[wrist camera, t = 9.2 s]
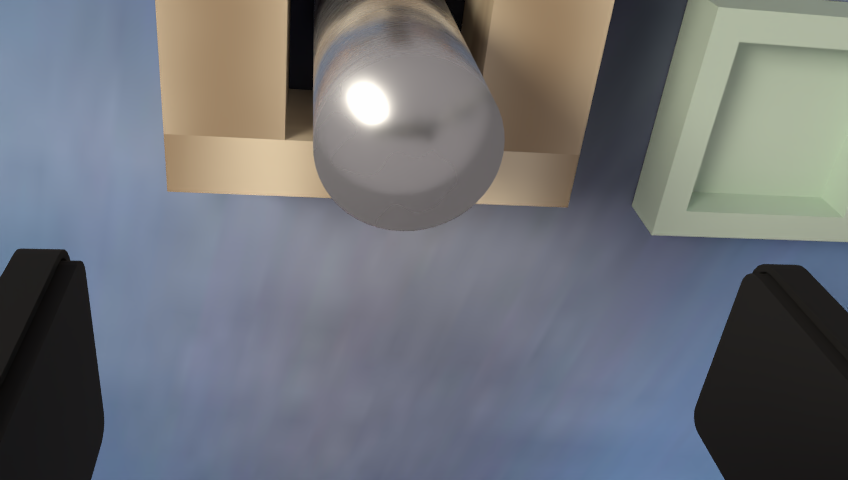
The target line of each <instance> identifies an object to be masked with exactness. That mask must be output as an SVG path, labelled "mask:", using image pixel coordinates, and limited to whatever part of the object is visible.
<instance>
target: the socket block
mask: <svg viewBox="0 0 848 480" xmlns="http://www.w3.org/2000/svg"><path fill="white" fill-rule="evenodd" d="M614 1H615V0H465V6H464V13H463V21H462V28H461V34H462V36H463V38H464V40H465V42H466V44H467V46H468V48H469V50H470V52H471V54H472V56H473V58H474V60H475V62H476V64H477V66H478V68H479V70H480V72H481V74H482V76H483V78H484V80H485V82H486V84H487V86H488V88H489V90H490V92H491V94H492V96H493V98H494V100H495V102H496V104H497V106H498V109H499V111H500V114H501V117H502V121H503V127H504V138H505V143H504V153H503V157H502V161H501V165H500V167H499V170H498V173H497V175H496V177H495V179H494V180H493V182H492V184H491V186H490V187H489V188H488V190H487V191H486V193H485V194H484V195H483V196H482V197H481V198H480V199H479V200H478V202H477V203H475V204H494V205H519V206H544V207H568V204H569V200H570V195H571V191H572V186H573V182H574V177H575V173H576V169H577V164H578V160H579V155H580V151H581V147H582V142H583V138H584V133H585V129H586V125H587V120H588V116H589V111H590V107H591V103H592V98H593V94H594V89H595V85H596V81H597V76H598V72H599V67H600V63H601V59H602V54H603V50H604V45H605V41H606V37H607V32H608V28H609V23H610V19H611V15H612V10H613V6H614ZM155 4H156V20H157V35H158V51H159V66H160V82H161V98H162V113H163V129H164V144H165V160H166V176H167V191H169V192H194V193H219V194H244V195H269V196H294V197H319V198H331V197H330V195H329V194H328V193H327V191H326V190H325V188H324V186H323V184H322V182H321V180H320V178H319V176H318V173H317V170H316V167H315V161H314V156H313V90H303V89H289V61H290V15H291V0H155Z"/></svg>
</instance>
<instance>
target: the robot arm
mask: <svg viewBox="0 0 848 480" xmlns="http://www.w3.org/2000/svg"><path fill="white" fill-rule="evenodd" d="M694 421H695V426H696V430H697V432H698V434H699V436H700V437H701V439H702V441H703V443H704V444H705V446H706V448H707V449H708V451H709V453H710V455H711V456H712V458H713V460H714V462H715V463H716V465H717V467H718V469H719V470H720V472H721V474H722V475H723V477H724V479H725V480H848V312H847V311H846V310H845V309H844V308H843V307H842V306H841V305H840V304H839V303H838V302H837V301H836V300H835V299H834V298H833V297H832V296H831V295H830V294H829V293H828V292H827V291H826V290H825V288H824V287H823V286H822V285H821V284H820V283H819V282H818V281H817V280H816V279H815V278H814V277H813V276H812V275H811V274H810V273H809V272H808V271H807V270H806V269H805V268H803V267H802V266H799V265H778V264H762V265H760V266H758V267H757V268H756V269H755V270H754V271H753V273H752V274H748V275H746V276H745V277H744V278H743V280H742V282H741V285H740V288H739V290H738V293H737V296H736V298H735V301H734V304H733V307H732V309H731V312H730V315H729V317H728V320H727V323H726V325H725V328H724V331H723V334H722V336H721V339H720V342H719V344H718V347H717V350H716V352H715V355H714V358H713V361H712V363H711V366H710V369H709V371H708V374H707V377H706V380H705V382H704V385H703V388H702V390H701V393H700V396H699V398H698V401H697V404H696V407H695V411H694ZM103 432H104V411H103V403H102V395H101V388H100V380H99V372H98V364H97V357H96V349H95V341H94V333H93V325H92V318H91V310H90V302H89V294H88V287H87V279H86V271H85V266H84V264H83V262H82V261H70V258H69V255H68V253H67V251H66V250H62V249H17V250H16V252H15V253H14V254H13V256H12V258H11V259H10V261H9V263H8V265H7V267H6V268H5V270H4V272H3V274H2V275H1V277H0V480H91V478H92V474H93V471H94V467H95V464H96V460H97V457H98V453H99V450H100V446H101V443H102V438H103Z"/></svg>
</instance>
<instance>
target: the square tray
mask: <svg viewBox="0 0 848 480" xmlns="http://www.w3.org/2000/svg"><path fill="white" fill-rule="evenodd" d="M632 207H633V208H634V210H635V211H636V213H637V214H638V216H639V217H640V219H641V220H642V222H643V223H644V225H645V226H646V228H647V229H648V231H649V232H650V233H651V235H663V236H691V237H720V238H748V239H777V240H805V241H834V242H848V2H838V1H827V0H688V2H687V6H686V10H685V13H684V17H683V21H682V24H681V28H680V32H679V35H678V39H677V43H676V46H675V50H674V54H673V57H672V61H671V65H670V68H669V72H668V75H667V79H666V83H665V86H664V90H663V94H662V97H661V101H660V105H659V108H658V112H657V116H656V119H655V123H654V127H653V130H652V134H651V138H650V141H649V145H648V149H647V152H646V156H645V160H644V163H643V167H642V171H641V174H640V178H639V181H638V185H637V189H636V192H635V196H634V200H633V203H632Z"/></svg>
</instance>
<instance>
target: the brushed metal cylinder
mask: <svg viewBox="0 0 848 480" xmlns="http://www.w3.org/2000/svg"><path fill="white" fill-rule="evenodd" d="M504 143H505V138H504V127H503V121H502V117H501V114H500V111H499V109H498V106H497V104H496V102H495V100H494V98H493V96H492V94H491V92H490V90H489V88H488V86H487V84H486V82H485V80H484V78H483V76H482V74H481V72H480V70H479V68H478V66H477V64H476V62H475V60H474V58H473V56H472V54H471V52H470V50H469V48H468V46H467V44H466V42H465V40H464V38H463V36H462V34H461V32H460V30H459V28H458V26H457V24H456V22H455V20H454V18H453V16H452V14H451V12H450V10H449V8H448V6H447V4H446V2H445V0H314V41H313V156H314V161H315V167H316V170H317V173H318V176H319V178H320V180H321V182H322V184H323V186H324V188H325V190H326V191H327V193H328V194H329V195H330V197H331V198H332V199H333V200H334V201H335V202H336V203H337V205H338V206H340V207H341V208H342V209H343V210H344V211H346V212H347V213H348V214H350V215H351V216H353V217H354V218H356V219H358V220H360V221H362V222H364V223H366V224H369V225H372V226H375V227H378V228H383V229H388V230H396V231H414V230H422V229H427V228H431V227H435V226H438V225H441V224H443V223H446V222H448V221H450V220H452V219H454V218H456V217H458V216H460V215H461V214H463V213H464V212H466V211H467V210H468V209H470V208H471V207H472V206H473V205H474V204H475V203H477V202H478V200H479V199H480V198H481V197H482V196H483V195H484V194H485V193H486V191H487V190H488V188H489V187H490V186H491V184H492V182H493V180H494V179H495V177H496V175H497V173H498V170H499V167H500V165H501V161H502V157H503V153H504Z"/></svg>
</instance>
